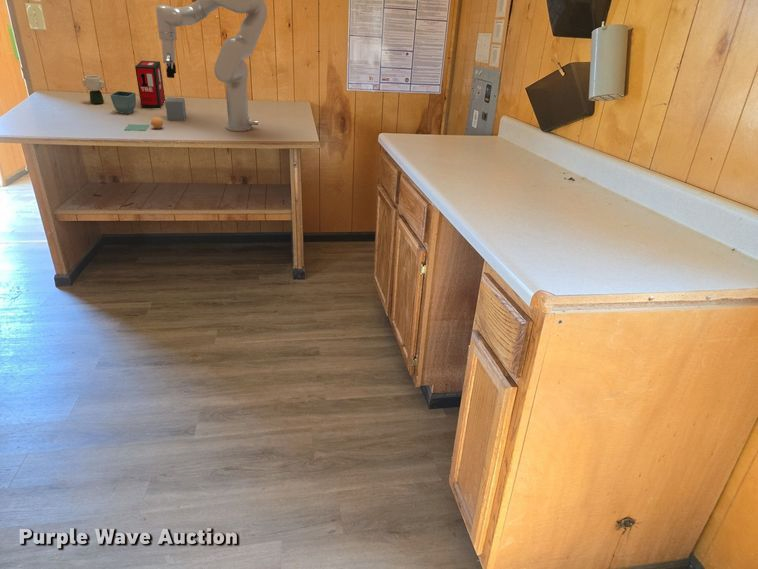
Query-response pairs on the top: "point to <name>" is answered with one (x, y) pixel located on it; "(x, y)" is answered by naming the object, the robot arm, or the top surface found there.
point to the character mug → (94, 88)
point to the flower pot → (124, 101)
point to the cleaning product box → (150, 84)
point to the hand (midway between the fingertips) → (171, 75)
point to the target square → (136, 127)
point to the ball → (157, 122)
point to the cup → (175, 109)
